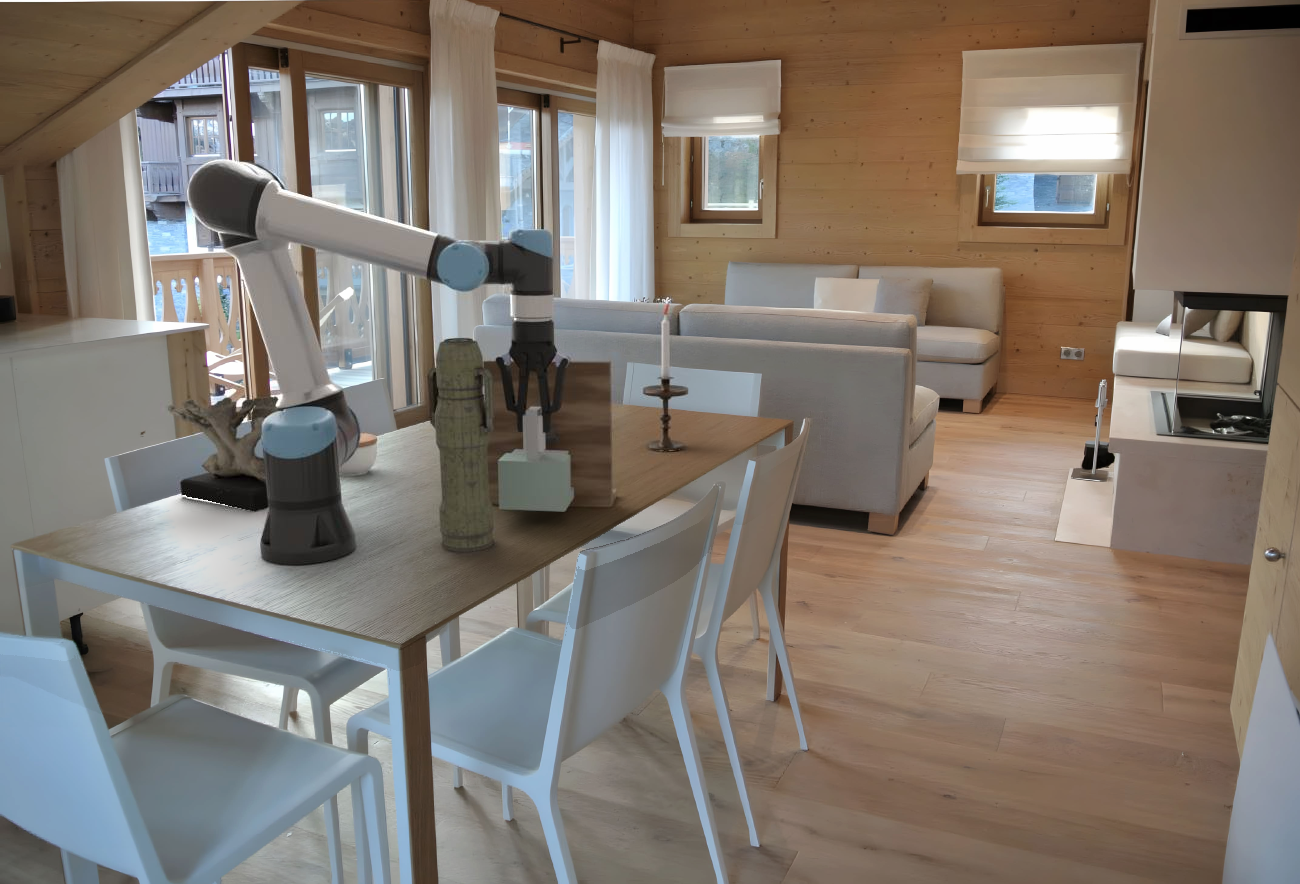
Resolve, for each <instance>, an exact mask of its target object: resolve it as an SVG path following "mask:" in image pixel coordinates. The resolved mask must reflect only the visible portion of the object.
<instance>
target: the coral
mask: <svg viewBox="0 0 1300 884" xmlns="http://www.w3.org/2000/svg"><path fill="white" fill-rule="evenodd" d="M278 400H279V398H278V396H276V395H274V396H267V397H254V398H253V399H252V398H251V399H246V400H245V399H244V400H243V401H242V403H241V408H240V410H239V411H237V404H238V402H237V401H233V398H231V397H230V396H229V397H227V396H226V397H224V398H223V399H221V400H218V401H217V402H216V403H215V404H210V405H208V406H207V407H206V408H204V407H202V406H200V405H198V404H197V403H196V402H195V400H194V399H187V400H186V401H184V402H182V406H183V407H184V408H185V410H179V409H178V408H175V407H174V405H173V404H170V405H167V407H166V408H167V411H169V412H170V413H171V414H172V415H173V416H175V417H176V418H178V419H180V421H183V422H187V424H189V425H190V426H193V427H194V428H195V429H197V430H199V431H200V432H202V433H203V434H204V435H205V436H206V437H207V438H208V439H209V440H210V441H211V442H212V443H213V444H214V446H215V448H216V449H217V453H212V454H211V455H210V456H209V457H208V458H207V460H205V461H204V462H203V463H202V464H201V467H202V468H203V470H205V471H207V472H206V473H205V472H204V473H202V474H197V475H194V476H190V477H187V478H186V477H185V478H183V479H181V481H180V483H179V484H180V493H181V496H182V495H186V496H187V497H192V498H198V499H203V500H208V501H212V502H216V503H220V504H225V505H228V506H232V507H237V508H241V509H240V510H242V509H245V510H244V511H247V510H250V512H253V511H254V513H255V512H259V511H262V510H263V511H264V510H265V509H268V499H267V488H266V478H265V467H264V457H261V456H258V454H257V453H256V452H255V450H256V447H257V445H258V443H259V441H261V435H262V424H263V422H264V420H265V419H266V418H267V417H268V416H269V415H271V414H273V413H275V412H277V409H276V404H277V402H278ZM250 412H251V413H250ZM249 414H251V420H250V426H251V430H250V432H248V433H246V434H244V435H243V436H242V437H237V436H238V435H237V434H238V430H237V429H238V428H239V426H241V425H242V423H243V421H244V420H245V419H246V418H247V416H248V415H249ZM232 507H231V508H232ZM237 508H236V509H237Z"/></svg>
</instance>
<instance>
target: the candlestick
mask: <svg viewBox="0 0 1300 884" xmlns="http://www.w3.org/2000/svg"><path fill="white" fill-rule="evenodd" d="M669 304H670V302H669V301H668V302H667V304H666V305H665V309H664V310H663V314H664V316H663V320H662V321H661V376H658V377H657V379H658V380H660V383H661V384H660V385H659V384H656V385H648V386H645V387H643V388H642V394H643V395H645V396H647V397H648V396H649V397H655V398H656V397H658V398H659V399H660V400H662V414H660V415H659V419H660V421H661V423H662V425H661V426H660V429H662V436H661V438H660V439H658V440H657V439H656V440H651V441H648V442H647V443H646V448H647V447H648V448H649V449H652V450H663V451H669V450H679V449H682V448H684V449H685V443H684V442H683V441H680V440H675V439H674V440H672V439H671V438H670V436H669V429H671V428H672V427H671V426H670V425H669V424H670V421H671V419H672V415H671V414H669V400H671V399H672V398H675V397H682V396H687V395H688V394H689V387H687V386H682V385H676V384H671V383H670V382H671V380H672V379H674V377H673V376H670V321H669V320H668V316H667V315H668V311H669V306H670V305H669ZM649 449H648V450H649ZM652 450H651V451H652ZM682 450H683V449H682ZM679 451H680V450H679Z"/></svg>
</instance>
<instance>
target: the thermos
mask: <svg viewBox="0 0 1300 884" xmlns="http://www.w3.org/2000/svg"><path fill="white" fill-rule="evenodd" d="M435 355H436V356H435V367H432V368H430V370H429V372H428V374H427V376H426V377H427V391H428V402H429V419H430V421H429V423H430V424H431V425H432V427H433V428H434V429H435V443H436V446H437V448H438V450H439V465H440V468H439V469H440V485H441V486H440V487H441V500H440V501H441V502H440V505H439V508H438V511H439V514H438V515H439V530H440V531H439V532H440V533H441V546H442V549H445V550H447V551H450V552H456V553H471V552H478V551H482V550H483V551H484V550H485V549H488V548H490V547H491V546H493V545H494V537H493V531H494V528H495V527H494V506H493V505H494V504H492V503H491V500H490V498H489V480H488V455H487V447H488V445H489V442H490V434H489V432H491V431H494V418H495V416H494V390H493V376H492V375H491V373H490V372H489V370H488V369H484V367H483V361H484V359H483V354H482V352H481V349H480V346H479V343H478V341H477V340H474V339H473V338H468V337H453V338H446V339H443V341H440V342H439V344H438V348H437V352H436V354H435ZM484 379H485V393H484ZM485 401H486V404H485Z"/></svg>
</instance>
